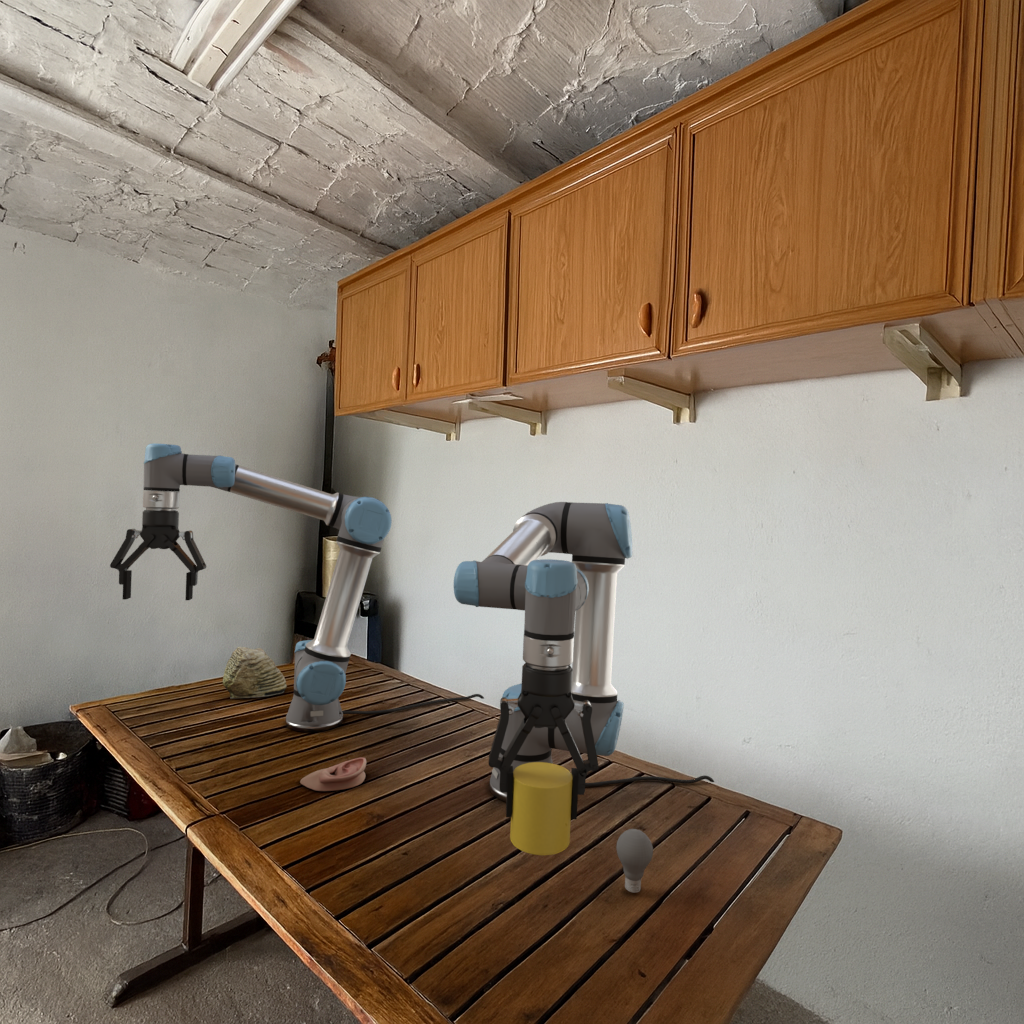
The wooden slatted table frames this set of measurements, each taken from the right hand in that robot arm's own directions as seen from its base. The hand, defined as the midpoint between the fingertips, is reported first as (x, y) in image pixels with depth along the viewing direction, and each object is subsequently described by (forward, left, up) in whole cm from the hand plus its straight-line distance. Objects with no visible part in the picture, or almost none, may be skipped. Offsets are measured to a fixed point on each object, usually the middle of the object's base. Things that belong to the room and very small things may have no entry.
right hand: (540, 813), depth 95 cm
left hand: (+59, -87, +20) cm, 107 cm away
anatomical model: (+21, -60, -18) cm, 66 cm away
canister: (0, 0, -4) cm, 4 cm away
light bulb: (-19, -3, -18) cm, 27 cm away
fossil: (+36, -128, -18) cm, 134 cm away
